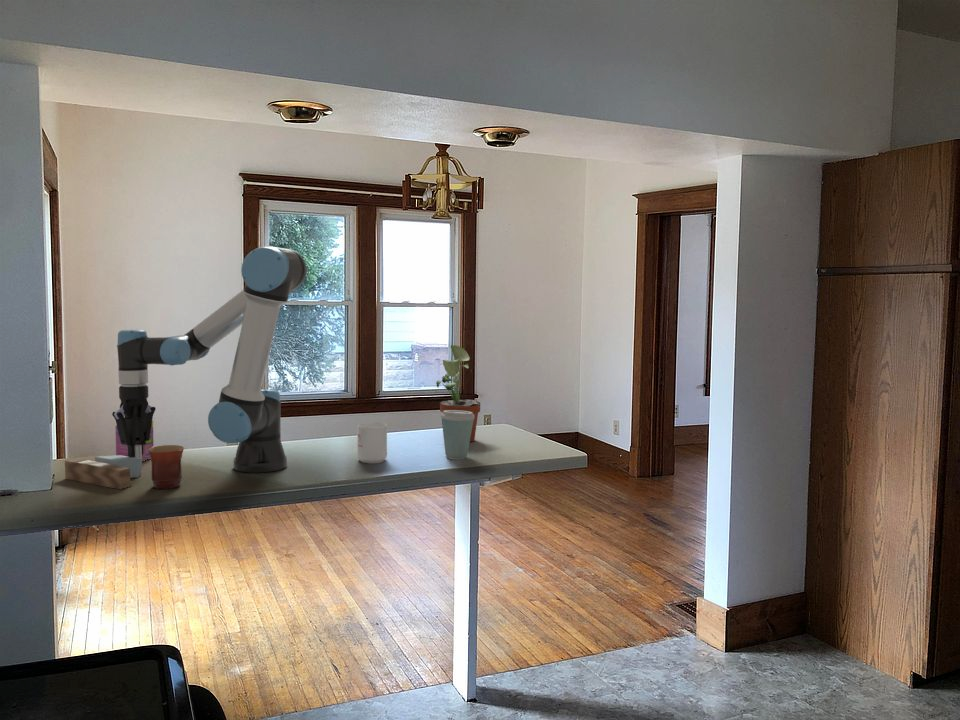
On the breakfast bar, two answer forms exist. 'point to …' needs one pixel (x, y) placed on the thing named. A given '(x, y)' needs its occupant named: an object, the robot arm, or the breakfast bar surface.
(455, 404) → the potted plant
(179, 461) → the mug
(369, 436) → the mug
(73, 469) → the board
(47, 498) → the breakfast bar surface
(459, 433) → the disposable coffee cup
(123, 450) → the box
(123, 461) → the block
